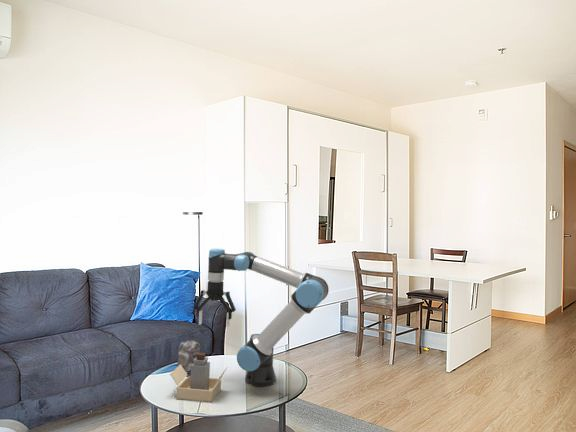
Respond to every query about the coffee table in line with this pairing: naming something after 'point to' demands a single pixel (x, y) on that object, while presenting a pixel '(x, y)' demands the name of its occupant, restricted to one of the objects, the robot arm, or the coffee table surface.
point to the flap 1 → (178, 374)
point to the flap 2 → (219, 378)
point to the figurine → (187, 354)
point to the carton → (198, 391)
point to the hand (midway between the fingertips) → (214, 325)
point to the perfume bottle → (200, 372)
